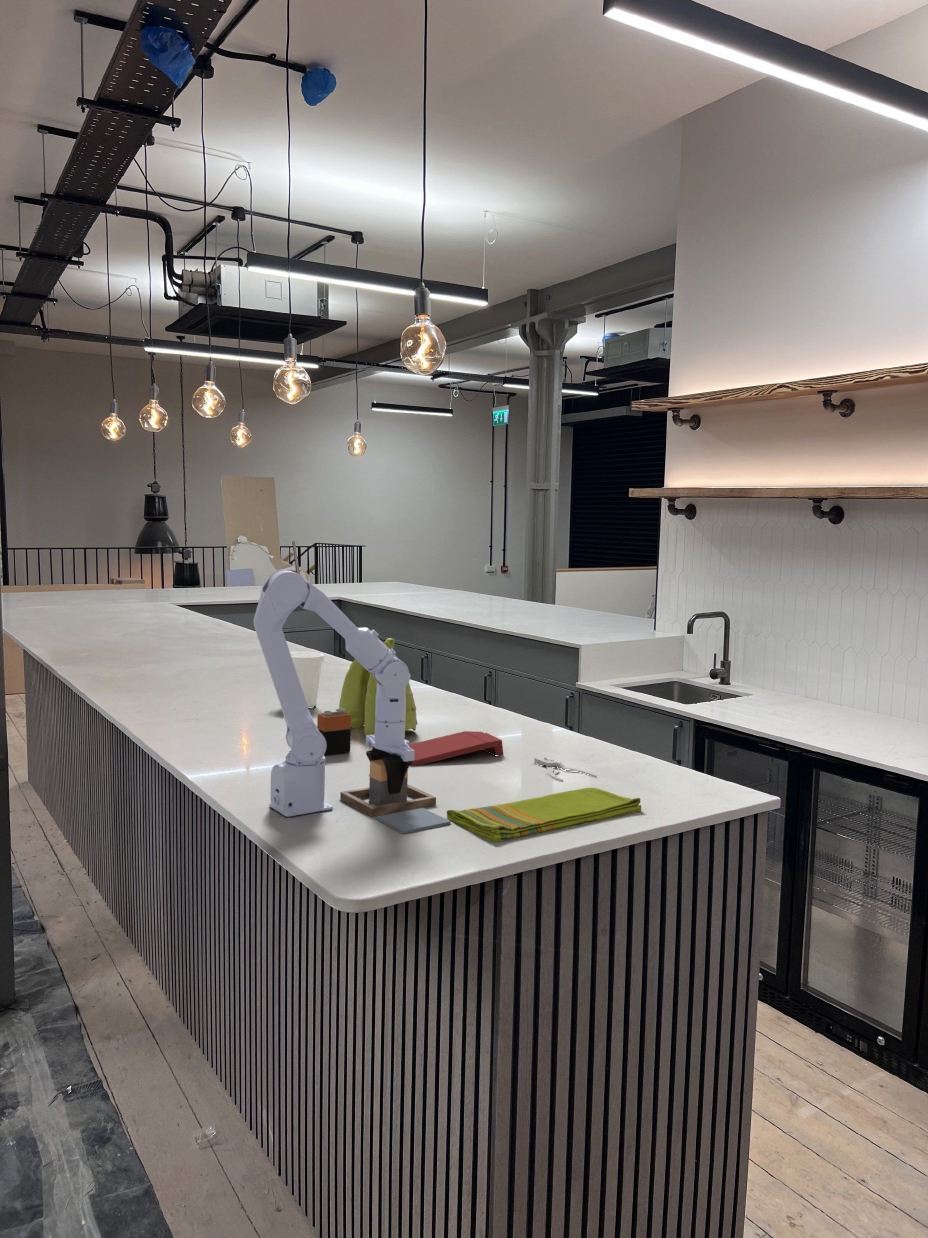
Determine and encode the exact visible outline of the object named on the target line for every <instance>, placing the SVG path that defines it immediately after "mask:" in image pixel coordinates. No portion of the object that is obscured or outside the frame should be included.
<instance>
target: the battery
mask: <svg viewBox="0 0 928 1238" xmlns="http://www.w3.org/2000/svg"><path fill="white" fill-rule="evenodd" d="M344 711H345V709H339V708H337V709H335V711H332V710H324V712H323V713H322V712H321V713H318V714H317V721H316V722H317V723H316V724H317V725H316V726H317V727H318V730H319V732H320V733H321V734H322V735H323V736H324V738H325V740H326V744H327V747H326V752H325V754H324V756H332V755H333V756H334V755H342V754H348V753H351V739H352V737H351V732H352V730H351V729H352V728H351V715H350V714H348V713H346V712H344Z"/></svg>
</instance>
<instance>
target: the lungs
mask: <svg viewBox="0 0 928 1238" xmlns="http://www.w3.org/2000/svg"><path fill="white" fill-rule="evenodd" d="M395 642H396V639H395V638H391V637H390V638H386V640H385V641H384V642H383V643H384V644H385V645H386V646H387V647H388V648H389V649H393V650H394V647H395V644H396V643H395ZM395 656H397V654H395ZM377 682H378V683H380V682H379V681H378V680H375V678H374V676H373V673H371V672H369V671H368V670H366V669H365V668H364V667H363V666H362V665H361V664H360V663H359V662H358V661H357V660H356V659H355V658H354V660H353V661H352V662H351V663H350V666H349V669H348V670H347V672H346V674H345V677H344V680H343V684H342V687H341V693H340V699H339V706H338V709H345V711H344V712H346V713H348V714H350V715H351V727H352V728H351V729H357V728H361V727H364V728H363V730H364V731H363V732H364V738H366V735H375V707H376V691H377ZM380 684H381V683H380ZM405 696H406V714H405V732H406V731H407V732H408V731H409V730H413V732H416V730H417V726H418V720H417V705H416V703H415V699H414V694H413V691H412V689H411V684H410V681H409V682H408V684H407V685H406V694H405Z"/></svg>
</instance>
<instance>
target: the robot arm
mask: <svg viewBox="0 0 928 1238" xmlns="http://www.w3.org/2000/svg"><path fill="white" fill-rule="evenodd" d="M298 607H300V608H301V609H303V610H307V611H312V612H315V614H317V615H318V616H319V617H321V618H322V620H324V621H325V622H326V623H327V624H328V625H329V626H330V627H331V628H332V629H334V630H335V631H336V632H337V633H338V634H339V635H340V636H341V637H343V638H344V641H345V650H346V652H348V653H349V654H350V655H351V657H353V658H354V660H355V659H356V660H357V661H358V662H359V663H360V664H361V665H362V666H363V667H364V668H365V669H366V670H368V671H369V672H371V673H373V676H374V678H375V680H378V681H379V682H380V683H381V684H380V683H378V682H377V691H376V707H375V735H366V737H365V746H368V747H371V746H372V749H371V750H367V751H366V753H365V755H366V756H367V759H368V761H369V762H370V761H374V760H381V759H382V760H383V762H384V765H385V768H386V772H387V778H388V790H389V793H390V794H396V793H400V791H401V787H402V784H403V780H404V777H405V774H406V772H407V770H408V771H409V768H410V765H411V763H412V762H413V761H414V755H415V750H413V749H411V748H410V747H409V746H408V745H409V744H410V741H409V740H407V739H405V738H406V731H405V714H406V696H405V694H406V685H407V684H408V682H409V683H410V680H411V675H412V674H411V673H410V671H409V667H408V666H407V664H406V663H405V662H404V661H402V660H401V659H400V658H398V656H397V654H396V650H395V649H394V648H393V649H389V648H388V647H387V646H386V645H385V644H384V642H383V641H382V640H381V639H379V637H378V636H379V635H380V633H378V632H377V631H376V630H375V629H372V630H370V628H368V627H358V626H356V624H354V622H352V621H351V620H350V618H348V617H347V616H346V614H345V613H344V612H343V611H342V610H341V609H340V608H339V607H338V606H337V605H336V604H335V603H334V602H333V601H332V600H331V599H330V598H329V597H328V596H327V595H326V594H325V593H324V592H323V591H321V590H320V589H319V588H318V587H316V586H314V585H313V584H312V583H310V582H309V581H307V580H305V578H304V577H303V576H302V575H300V574H299V573H297V572H294V571H292V570H290V569H286V568H285V569H283V568H282V569H278V570H275V571H274V572H273V573H272V574H271V575H270V576H268V579H267V580H266V581H265V583H264V584H263V585H262V588H261V590H260V596H259V600H258V603H257V606H256V609H255V614H254V617H253V627H254V630H255V633H256V636H257V639H258V641H259V645H260V648H261V651H262V655H263V657H264V659H265V660H264V661H265V662H266V663H265V664H266V665H267V669H268V672H269V674H270V677H271V681H272V683H273V687H274V689H275V693H276V696H277V698H278V701H279V704H280V707H281V710H282V714H283V717H284V722H285V724H286V734H285V740H286V744H287V745H288V747H289V749H290V751H288V752H287V755H286V756H285V760H284V761H283V762H281V763H276V764H274V765H273V766H272V768H271V772H270V802H269V803H268V806H269V807H270V808H271V809H274V810H275V811H277V812H278V813H280V814H281V815H283V816H285V817H287V818H289V817H293V816H301V815H305V814H312V813H316V812H324V811H328V810H333V809H334V806H333V805H331V804H330V803H328V802H327V801H325V789H326V788H325V786H326V785H325V780H326V778H325V777H326V757H325V756H326V755H324V754H325V752H326V747H327V744H326V740H325V738H324V736H323V735H322V734H321V733H320V732H319V730H318V727H317V725H316V724H315V722H314V718H313V716H312V714H311V711H310V709H308V706H307V703H306V700H305V697H304V694H303V691H302V687H301V684H300V681H299V678H298V675H297V672H296V669H295V666H294V663H293V660H292V657H291V654H290V652H291V651H290V648H289V645H288V643H287V640H286V637H285V633H284V631H283V626H284V625H285V623H286V621H287V619H288V617H289V616H290V614H291V613H292V612H293V611H294V610H295V609H297V608H298ZM395 654H396V656H395Z"/></svg>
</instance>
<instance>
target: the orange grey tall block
mask: <svg viewBox="0 0 928 1238" xmlns="http://www.w3.org/2000/svg"><path fill="white" fill-rule="evenodd" d="M408 772H409V769H408V770H407V772H406V774H405V777H404V780H403V784H402V787H401V791H400V793H396V794H390V793H389V790H388V778H387V772H386V768H385V765H384V762H383V760H382V759H381V760H374V761H369V783H368V784H369V797H368V803H369V804H371V805H373V806H380V805H386V804H391V803H397V802H402V801H408V794H407V784H408V781H409V779H408V778H409V777H408V776H409V775H408V774H409V773H408Z"/></svg>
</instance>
